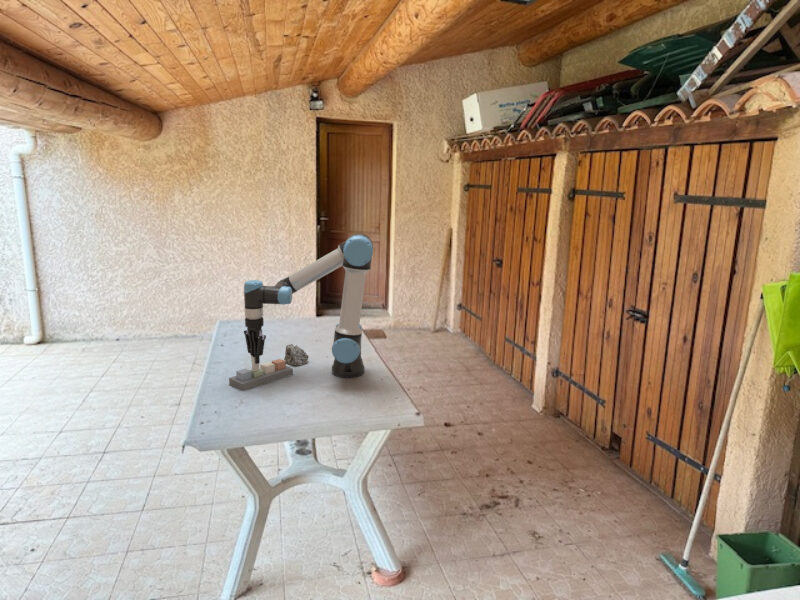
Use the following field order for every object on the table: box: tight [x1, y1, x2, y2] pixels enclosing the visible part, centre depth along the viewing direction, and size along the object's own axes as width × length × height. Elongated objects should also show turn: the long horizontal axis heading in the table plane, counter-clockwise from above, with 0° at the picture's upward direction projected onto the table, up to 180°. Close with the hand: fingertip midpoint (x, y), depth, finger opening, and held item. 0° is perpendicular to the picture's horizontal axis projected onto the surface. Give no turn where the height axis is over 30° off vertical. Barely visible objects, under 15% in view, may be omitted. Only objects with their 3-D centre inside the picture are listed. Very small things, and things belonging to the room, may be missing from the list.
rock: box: [283, 343, 309, 366], centre depth 247 cm, size 13×10×10 cm
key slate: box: [235, 368, 251, 382], centre depth 217 cm, size 4×4×4 cm
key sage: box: [249, 368, 263, 378], centre depth 222 cm, size 4×4×4 cm
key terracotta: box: [271, 358, 287, 371], centre depth 230 cm, size 4×4×4 cm
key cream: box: [259, 361, 275, 374], centre depth 226 cm, size 4×4×4 cm
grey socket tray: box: [228, 365, 294, 392], centre depth 224 cm, size 10×26×3 cm, turn 140°
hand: (255, 369), depth 221 cm, fingers closed
